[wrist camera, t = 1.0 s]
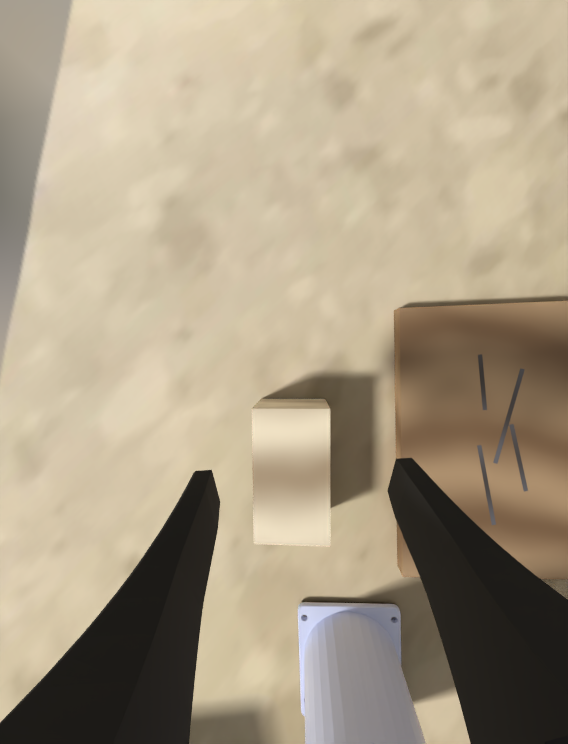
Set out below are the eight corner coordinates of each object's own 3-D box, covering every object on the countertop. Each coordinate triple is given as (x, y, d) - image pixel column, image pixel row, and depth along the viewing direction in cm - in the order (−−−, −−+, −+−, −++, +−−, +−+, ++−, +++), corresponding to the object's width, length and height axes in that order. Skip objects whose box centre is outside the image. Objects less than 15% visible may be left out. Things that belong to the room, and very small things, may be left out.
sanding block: (324, 509, 23) (330, 546, 18) (263, 507, 23) (253, 544, 19) (324, 398, 22) (330, 408, 18) (261, 398, 23) (251, 408, 18)
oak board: (585, 567, 22) (602, 579, 20) (397, 565, 22) (403, 576, 21) (590, 302, 21) (609, 298, 19) (394, 310, 21) (399, 308, 20)
